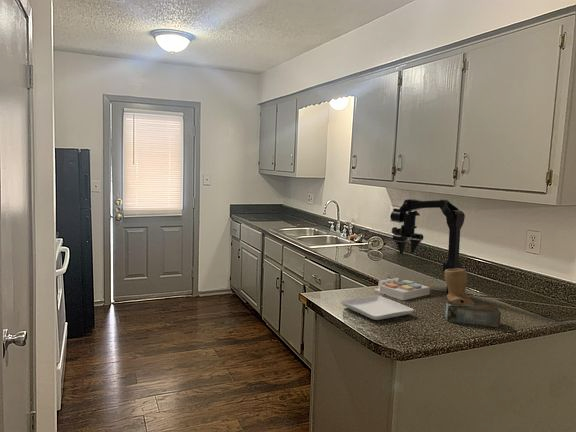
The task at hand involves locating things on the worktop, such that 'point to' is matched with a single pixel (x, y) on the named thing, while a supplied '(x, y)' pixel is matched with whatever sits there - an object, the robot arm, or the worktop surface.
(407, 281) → the key sage
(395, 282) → the key charcoal
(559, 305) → the worktop surface
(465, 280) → the tan boot
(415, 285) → the key slate
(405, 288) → the block
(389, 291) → the keypad
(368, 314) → the salad plate
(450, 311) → the weathered grey rectangular box
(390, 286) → the key terracotta
